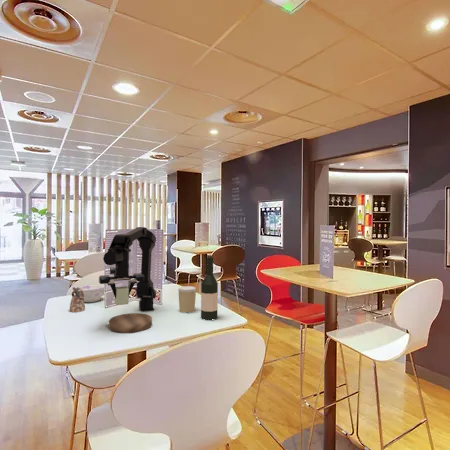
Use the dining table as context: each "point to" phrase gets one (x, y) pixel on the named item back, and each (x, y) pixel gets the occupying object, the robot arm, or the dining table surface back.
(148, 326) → the walnut base
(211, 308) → the wine bottle
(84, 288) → the paper bowls
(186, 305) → the coffee cup
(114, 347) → the dining table surface
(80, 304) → the figurine
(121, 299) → the sage block
